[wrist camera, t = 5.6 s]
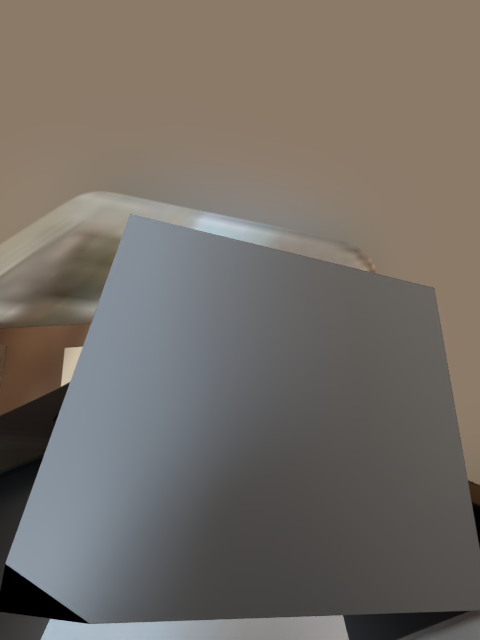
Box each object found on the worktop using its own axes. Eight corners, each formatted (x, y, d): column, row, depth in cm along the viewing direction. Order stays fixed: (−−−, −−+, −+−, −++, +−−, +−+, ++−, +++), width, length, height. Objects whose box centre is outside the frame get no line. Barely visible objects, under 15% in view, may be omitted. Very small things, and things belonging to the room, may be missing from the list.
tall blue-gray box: (247, 427, 15) (490, 610, 3) (165, 418, 14) (-19, 628, 2) (254, 361, 16) (434, 287, 4) (179, 349, 15) (129, 213, 3)
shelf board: (167, 323, 22) (152, 288, 14) (170, 446, 19) (154, 489, 11) (-29, 333, 18) (-193, 295, 10) (-62, 487, 15) (-325, 593, 7)
